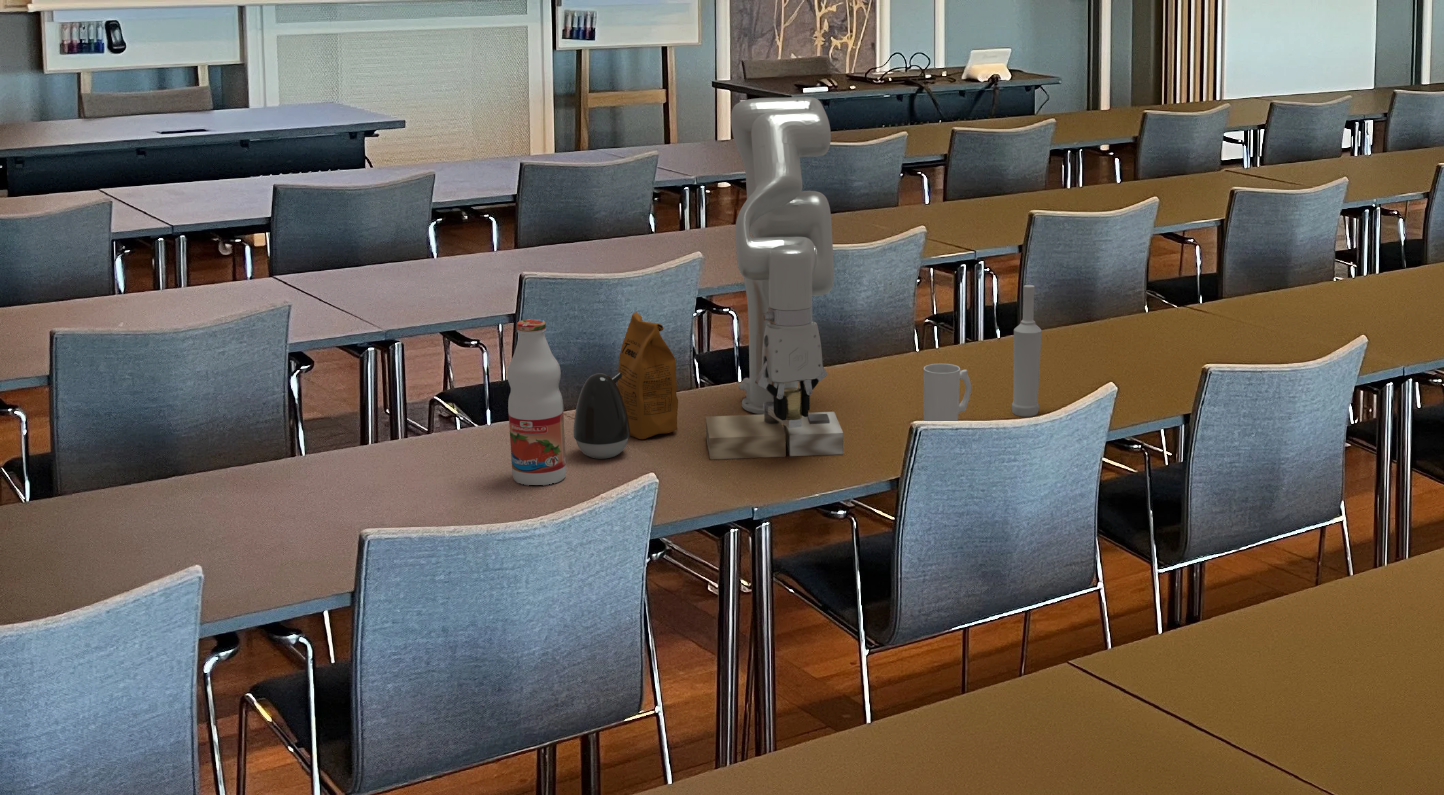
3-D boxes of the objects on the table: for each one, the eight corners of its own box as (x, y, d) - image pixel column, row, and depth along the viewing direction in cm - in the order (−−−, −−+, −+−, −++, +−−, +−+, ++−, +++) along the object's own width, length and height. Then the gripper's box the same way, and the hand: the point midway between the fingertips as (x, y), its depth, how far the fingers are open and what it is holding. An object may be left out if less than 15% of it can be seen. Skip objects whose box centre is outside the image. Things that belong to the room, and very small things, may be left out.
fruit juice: (576, 472, 292) (568, 317, 284) (551, 489, 284) (542, 330, 276) (528, 466, 295) (519, 313, 287) (502, 483, 287) (492, 326, 279)
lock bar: (760, 419, 305) (759, 376, 303) (778, 417, 306) (777, 374, 304) (786, 438, 294) (786, 394, 292) (805, 435, 295) (804, 391, 293)
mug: (936, 437, 306) (937, 375, 303) (915, 428, 312) (916, 366, 309) (980, 428, 311) (982, 367, 308) (959, 419, 317) (960, 359, 313)
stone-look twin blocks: (709, 459, 297) (709, 434, 296) (706, 437, 310) (705, 413, 308) (843, 454, 298) (843, 429, 297) (834, 432, 311) (834, 408, 310)
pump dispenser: (643, 452, 302) (640, 372, 297) (601, 467, 294) (597, 384, 290) (605, 441, 308) (601, 362, 304) (562, 455, 301) (558, 374, 297)
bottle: (1042, 411, 321) (1047, 284, 314) (1032, 418, 317) (1036, 290, 309) (1017, 407, 323) (1021, 282, 316) (1007, 414, 319) (1010, 287, 312)
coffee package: (659, 417, 322) (655, 307, 316) (684, 435, 311) (681, 321, 305) (611, 425, 318) (606, 313, 312) (634, 443, 307) (630, 327, 301)
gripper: (756, 326, 284) (758, 428, 289) (842, 315, 290) (843, 415, 295) (738, 317, 290) (740, 417, 295) (823, 306, 297) (823, 405, 302)
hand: (791, 415), depth 295 cm, fingers closed on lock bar, 3 cm apart
